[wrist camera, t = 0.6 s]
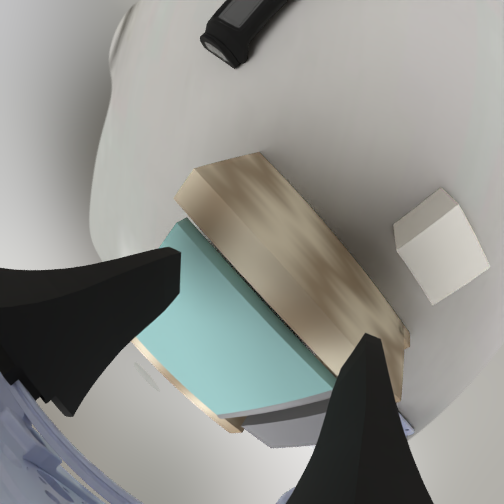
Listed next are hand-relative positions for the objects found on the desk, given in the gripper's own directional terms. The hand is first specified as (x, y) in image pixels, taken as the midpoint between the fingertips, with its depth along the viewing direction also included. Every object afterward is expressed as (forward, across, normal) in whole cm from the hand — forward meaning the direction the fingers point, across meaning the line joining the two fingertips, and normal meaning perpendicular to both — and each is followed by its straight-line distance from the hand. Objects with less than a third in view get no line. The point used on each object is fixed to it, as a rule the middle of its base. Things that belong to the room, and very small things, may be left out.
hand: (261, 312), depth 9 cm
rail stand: (+10, +2, +8) cm, 13 cm away
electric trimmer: (+10, +6, -16) cm, 20 cm away
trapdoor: (+6, +1, +9) cm, 11 cm away
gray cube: (+10, -7, -2) cm, 12 cm away
